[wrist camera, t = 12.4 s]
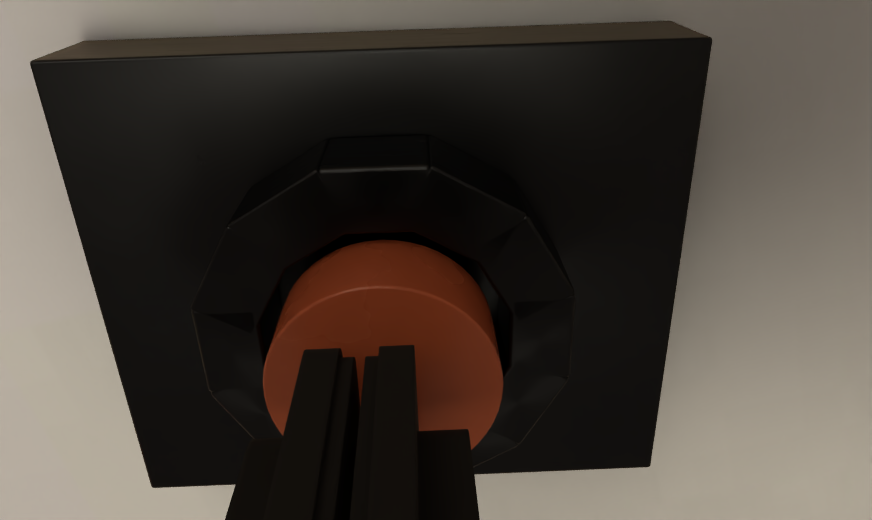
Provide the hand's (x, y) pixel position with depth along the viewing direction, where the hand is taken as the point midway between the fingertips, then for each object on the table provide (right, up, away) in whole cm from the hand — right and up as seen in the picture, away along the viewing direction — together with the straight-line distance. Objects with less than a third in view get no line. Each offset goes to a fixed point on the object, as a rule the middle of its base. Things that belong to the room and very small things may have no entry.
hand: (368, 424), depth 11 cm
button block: (0, +3, +6) cm, 6 cm away
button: (0, +1, +2) cm, 3 cm away
